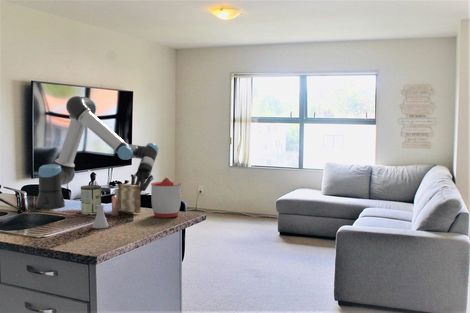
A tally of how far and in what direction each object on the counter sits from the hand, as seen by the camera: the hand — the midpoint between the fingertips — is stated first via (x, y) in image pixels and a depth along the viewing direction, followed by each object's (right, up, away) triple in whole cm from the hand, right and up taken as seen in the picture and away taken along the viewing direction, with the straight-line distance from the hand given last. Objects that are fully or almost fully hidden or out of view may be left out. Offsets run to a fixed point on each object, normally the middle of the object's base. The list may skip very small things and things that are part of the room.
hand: (133, 200), depth 244 cm
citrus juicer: (+19, -7, -7) cm, 21 cm away
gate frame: (-9, -6, -1) cm, 11 cm away
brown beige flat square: (-2, -6, -1) cm, 6 cm away
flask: (-8, -9, -35) cm, 37 cm away
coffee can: (-22, -7, -2) cm, 23 cm away
